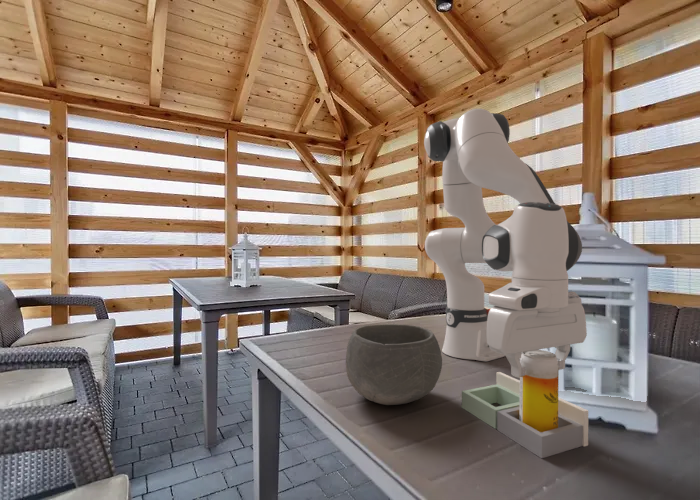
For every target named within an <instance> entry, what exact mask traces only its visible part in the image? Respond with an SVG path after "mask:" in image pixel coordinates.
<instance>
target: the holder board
mask: <svg viewBox="0 0 700 500" xmlns="http://www.w3.org/2000/svg"><path fill="white" fill-rule="evenodd" d="M495 373H496V376H495V379H496V380H495V381H496V383H495V384H491V385H488V386H481V387H476V388H475V387H474V388H471V389H465V390H461V408H462V409H463V410H465V411H467V412H468V413H470V414H471V415H473V416H474V417H476V418H477V419H479V420H480V421H482V422H483V423H485V424H487V425H489V426H490V427H491V428H493V429H495V430H496V429H497V430H496V431H498V432H499V433H501V434H502V435H504V436H506V437H507V438H508V439H510V440H512V441H514V442H515V443H516V444H518V445H519V446H522V447H523V448H524V449H525V450H527V451H529V452H530V453H532V454H534V455H535V456H537V457H539V458H540V459H545V458H548V457H550V456H554V455H558V454H561V453H564V452H567V451H570V450H573V449H577V448H579V447H580V448H581V447H588V446H589V410H588V409H585V408H583V406H582V407H581V406H579V405H577V404H574V403H572V402H570V401H567V400H566V399H563V398H561V397H559V396H558V428H556V429H552V430H549V431H545V432H539V431H537V430H535V429H534V428H532V427H530V426H528V425H527V424H525V423H523V422H521V421H519V405H520V379H518V378H516V377H514V376H511V375H508V374H505V373H504V372H501V371H498V372H495ZM493 404H499V406H494V405H493Z"/></svg>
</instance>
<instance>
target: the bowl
mask: <svg viewBox="0 0 700 500" xmlns="http://www.w3.org/2000/svg"><path fill="white" fill-rule="evenodd" d="M442 368H443V356H442V350H441V348H440V344H439V341H438V339H437V338H436V336H435V334H434V333H433V331H432V330H431V329H429V328H426V327H422V326H419V325H412V324H398V323H397V324H391V323H390V324H389V323H388V324H387V323H386V324H369V325H368V324H367V325H361V326H359V327H357V328H355V329H354V330H353V331H352V332H351V335H350V337H349V340H348V342H347V346H346V352H345V371H346V376H347V378H348V381H349V383H350V384H351V387H352V388H353V389H354V390H355V391H356V392H357V393H358V394H359V395H361V396H362V397H363V398H365V399H367V400H368V401H371V402H374V403H377V404H379V405H383V406H384V405H385V406H394V405H395V406H396V405H397V406H398V405H406V404H408V403H411V402H412V403H413V402H414V401H417V400H419V399H422V398H423V397H425V396H427V395H428V394H429V393H431V391H433V389H434V388H435V387H436V386H437V383H438V381H439V378H440V375H441V373H442Z"/></svg>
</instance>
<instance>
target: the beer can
mask: <svg viewBox="0 0 700 500" xmlns="http://www.w3.org/2000/svg"><path fill="white" fill-rule="evenodd" d="M519 361H520V363H521V366H524V367H526V371H525V373H526V375H525V376H524V377H520V378H519V380H520V405H519V421H521V422H523V423H525V424H527V425H528V426H530V427H532V428H534V429H535V430H537V431H539V432H545V431H549V430H552V429H556V428H558V397H559V371H560V370H559V362H558V360H557V358H556V355H555V353H553V352H552V351H548V350H544V349H538V350H532V351H525V352H521V358H519Z"/></svg>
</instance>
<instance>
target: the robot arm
mask: <svg viewBox="0 0 700 500" xmlns="http://www.w3.org/2000/svg"><path fill="white" fill-rule="evenodd" d="M510 135H511V129H510V123H509V120H508V119H507V117H505V115H504V114H502V113H494V112H493V113H492V112H490V111H489V110H488V109H487V110H486V108H485V109H483V108H473V109H469V110H467V111H466V112H464V113H463V114H462V115H461V116H460V117H455V118H452V119H448V120H445V121H442V120H441V121H436V122H434V123H432V124H430V125H429V126H428V127H427V129H426V132H425V134H424V139H423V145H424V150H425V152H426V154H427V157H428V158H429V159H430V160H431V161H432V162H439V163H440V162H441V163H442V173H441V174H442V190H443V191H442V192H443V193H442V194H443V207H444V209H445V210H446V212H447V213H448V214H449V215H451V216H452V217H455V218H457V219H459V220H460V221H461V222H462V223H463V225H464V227H445V228H438V229H435V230H431V231H429V233H428V234H427V236H426V237H425V241H424V251H425V253H426V255H427V257H428V258H429V259H430V260H431V261H432V262H434V263H435V264H436V265H437V267H439V270H440V271H441V272H442V275H443V277H444V279H445V285H446V297H447V298H446V303H447V306H446V307H445V322H446V326H445V327H446V328H445V337H444V341H443V344H442V345H443V346H442V349H441V353H444V355H446V356H450V357H453V358H456V359H457V358H458V359H463V360H473V361H475V360H476V361H480V362H489V361H493V360H494V361H495V360H497V359H500V358H501V359H502V358H503V357H504V358H505V357H506V359H507V361H508V363H509V364H510V374H511V377H513V378H516V379H520V377H524V376H525V375H526V373H525V371H526V367H524V366H521V363H520V358H521V354H522V352H525V351H532V350H544V349H552V348H555V351H554V354H555V355H556V358H557V360H558V362H559V371H561V370H565V369H566V360H567V357H568V356H569V354H570V353H571V352H570V351H571V345H577V344H582V343H584V342H585V340H586V338H587V334H588V333H587V331H588V330H587V320H586V319H587V318H586V312H585V309H584V306H583V304H582V302H583V301H582V298H581V297H580V296H579V294H577V293H576V291H569V274H568V271H569V270H570V269H572V268H573V267H574V266H575V264H577V262H578V261H579V259H580V258H581V256H582V251H583V243H582V239H581V237H580V235H579V233H578V231H577V230H576V229H575V227H574V226H573V225H572V224H571V223H570V222H569V221H568V219H567V214H566V211H565V209H564V208H563V207H562V206H561V205H559V204H557V203H555V201H554V199H553V198H552V196H551V195H550V193H549V191H548V190H547V188H546V186H545V185H544V184H543V182H542V180H541V178H540V177H539V175H538V173H537V172H536V171H535V170H534V169H533V168H532V167H531V166H529V164H527V163H525V162H524V161H523V160H522V159H521V158H520V157H519V156H518V155H517V154H516V153H515V152H514V151H513V149H512V148H511V147H510V145H509V142H510ZM482 188H483V189H487V190H491V191H495V192H497V193H501V194H504V195H507V196H509V197H511V198H513V199H514V200H516V201H517V202H518V203H519V204H517V205H516V206H515V207H514V209H513V212H512V214H511V215H510V217H508V218H507V219H505V220H503V221H502V222H500V223H498V224H497V223H495V222H494V221H493V220H492V219H491V217H490V216H489V214H488V212H487V211H486V208H485V205H484V197H483V189H482ZM468 263H469V264H487V265H488V266H489V267H490V268H491V269H493V270H495V271H499V272H512V273H511V282H508V283H507V284H505V285H504V286H501V287H500V288H498V289H495V290H493V291H492V292H490V293H488V303H489V304H490V305H491V308H488V309H487V308H485V285H484V284H485V283H484V282H483V281H482V280H481V278H479V277H478V276H476V275H474V274H473V273H471V272H469V271H468V270H467V267H466V264H468Z"/></svg>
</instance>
